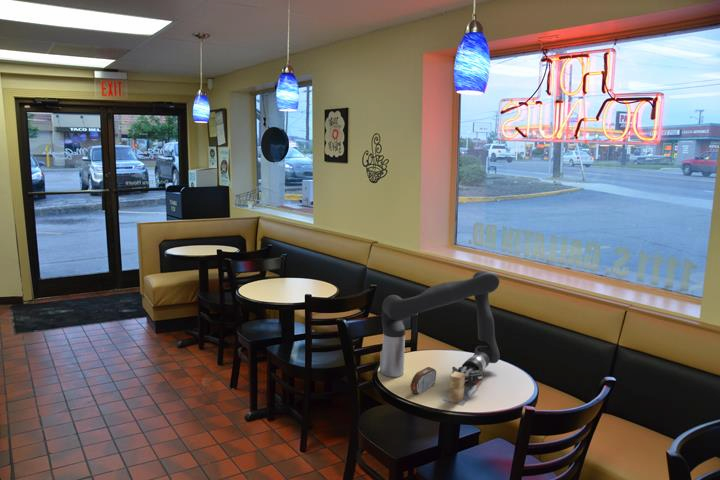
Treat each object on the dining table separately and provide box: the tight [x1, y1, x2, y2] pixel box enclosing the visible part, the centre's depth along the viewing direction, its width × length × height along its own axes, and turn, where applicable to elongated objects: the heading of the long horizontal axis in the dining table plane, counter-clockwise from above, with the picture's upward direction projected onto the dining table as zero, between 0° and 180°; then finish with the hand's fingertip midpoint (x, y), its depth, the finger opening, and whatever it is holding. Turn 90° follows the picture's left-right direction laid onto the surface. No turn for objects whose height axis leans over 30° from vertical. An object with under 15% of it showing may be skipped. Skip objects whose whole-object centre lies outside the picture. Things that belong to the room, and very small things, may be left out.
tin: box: [410, 366, 437, 395], centre depth 214 cm, size 15×3×8 cm, turn 141°
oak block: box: [448, 371, 465, 405], centre depth 206 cm, size 4×5×10 cm
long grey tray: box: [442, 380, 482, 407], centre depth 213 cm, size 8×23×2 cm, turn 149°
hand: (459, 381), depth 208 cm, fingers closed
